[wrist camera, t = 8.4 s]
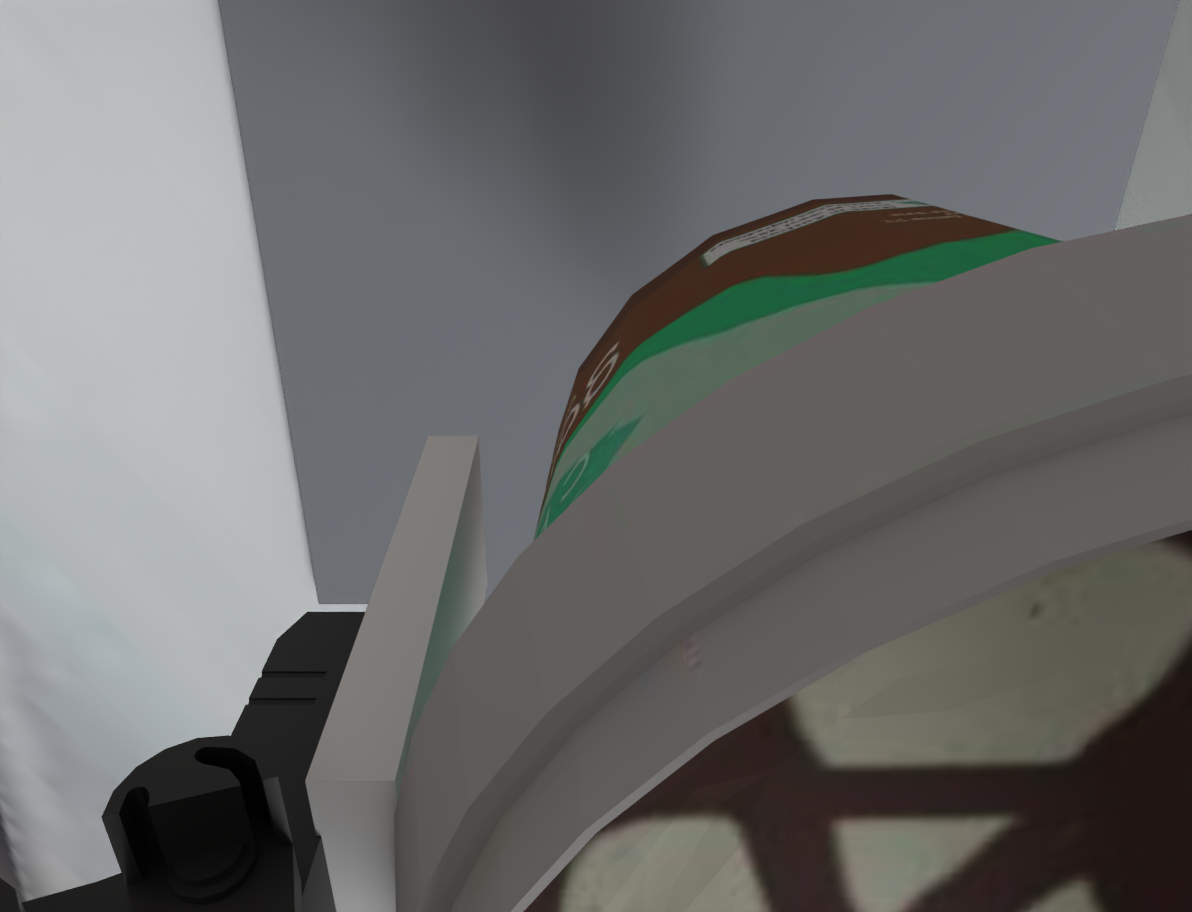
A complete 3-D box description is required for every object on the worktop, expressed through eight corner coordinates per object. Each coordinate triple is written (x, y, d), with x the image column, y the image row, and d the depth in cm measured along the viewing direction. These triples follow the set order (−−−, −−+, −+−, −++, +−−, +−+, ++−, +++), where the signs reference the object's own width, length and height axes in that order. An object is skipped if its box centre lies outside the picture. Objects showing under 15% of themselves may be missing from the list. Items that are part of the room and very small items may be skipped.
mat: (1002, 594, 26) (1009, 604, 25) (323, 593, 25) (318, 604, 25) (1170, -23, 18) (1185, -23, 18) (221, -34, 18) (211, -35, 18)
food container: (468, 74, 12) (137, 284, 3) (911, 83, 12) (1797, 311, 3) (497, 733, 18) (409, 1466, 9) (797, 734, 18) (1007, 1460, 9)
